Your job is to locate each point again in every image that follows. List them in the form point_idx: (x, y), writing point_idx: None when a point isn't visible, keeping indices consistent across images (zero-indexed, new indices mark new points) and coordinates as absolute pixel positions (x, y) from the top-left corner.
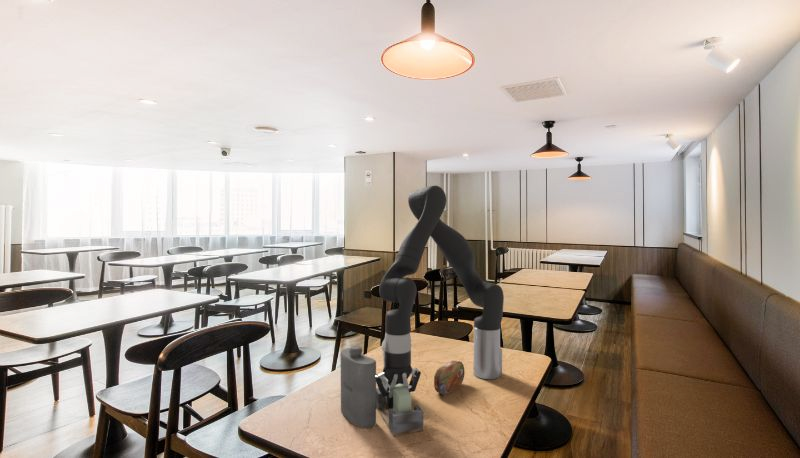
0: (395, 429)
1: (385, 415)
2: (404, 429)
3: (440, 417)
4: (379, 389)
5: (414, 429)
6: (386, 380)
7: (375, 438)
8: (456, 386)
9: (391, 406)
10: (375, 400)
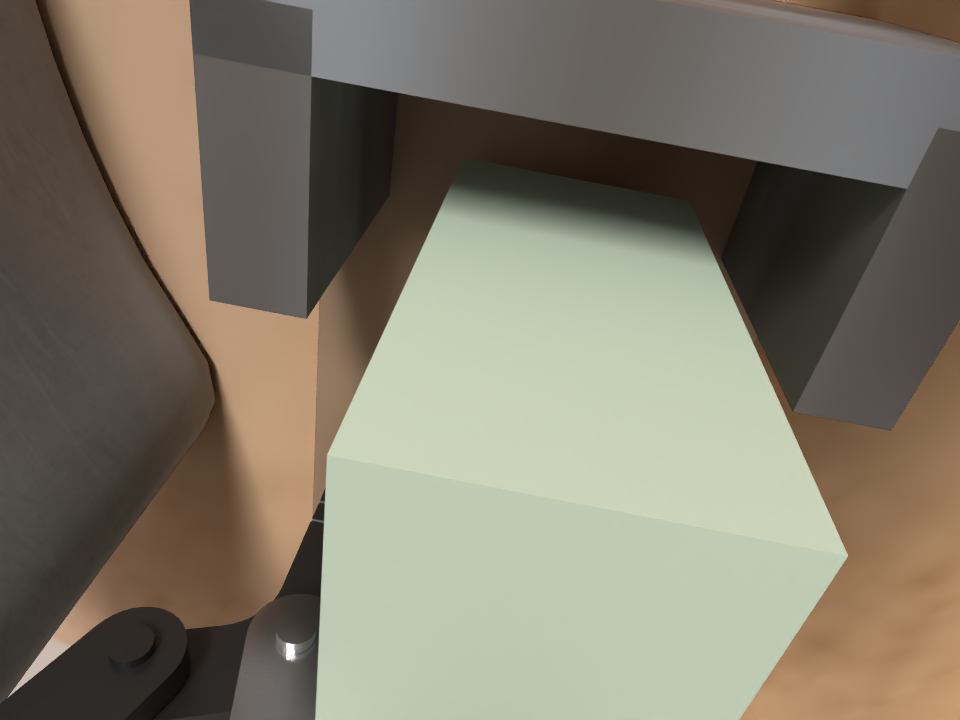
0: None
1: (358, 369)
2: None
3: (919, 627)
4: (29, 711)
5: None
6: (326, 537)
7: (158, 573)
8: None
9: None
10: (5, 694)
